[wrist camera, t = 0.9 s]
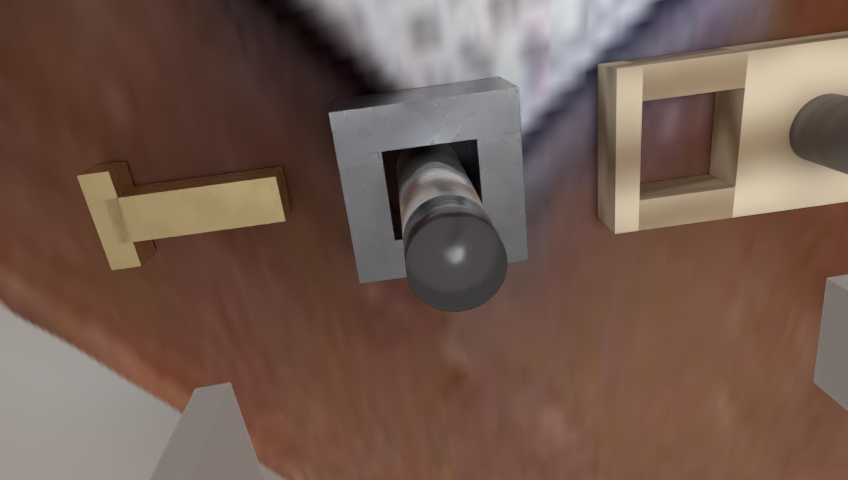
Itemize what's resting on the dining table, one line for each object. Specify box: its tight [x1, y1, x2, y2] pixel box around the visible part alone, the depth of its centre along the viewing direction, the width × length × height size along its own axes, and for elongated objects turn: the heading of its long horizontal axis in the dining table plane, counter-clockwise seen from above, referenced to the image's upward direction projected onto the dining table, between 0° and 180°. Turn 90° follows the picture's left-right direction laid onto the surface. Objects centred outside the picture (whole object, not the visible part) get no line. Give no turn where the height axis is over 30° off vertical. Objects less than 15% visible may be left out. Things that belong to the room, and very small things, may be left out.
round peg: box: [396, 143, 507, 312], centre depth 29 cm, size 4×4×15 cm
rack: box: [598, 31, 848, 234], centre depth 30 cm, size 10×17×13 cm, turn 97°
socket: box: [329, 77, 528, 283], centre depth 33 cm, size 10×10×5 cm
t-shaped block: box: [77, 161, 292, 270], centre depth 34 cm, size 6×11×2 cm, turn 97°
